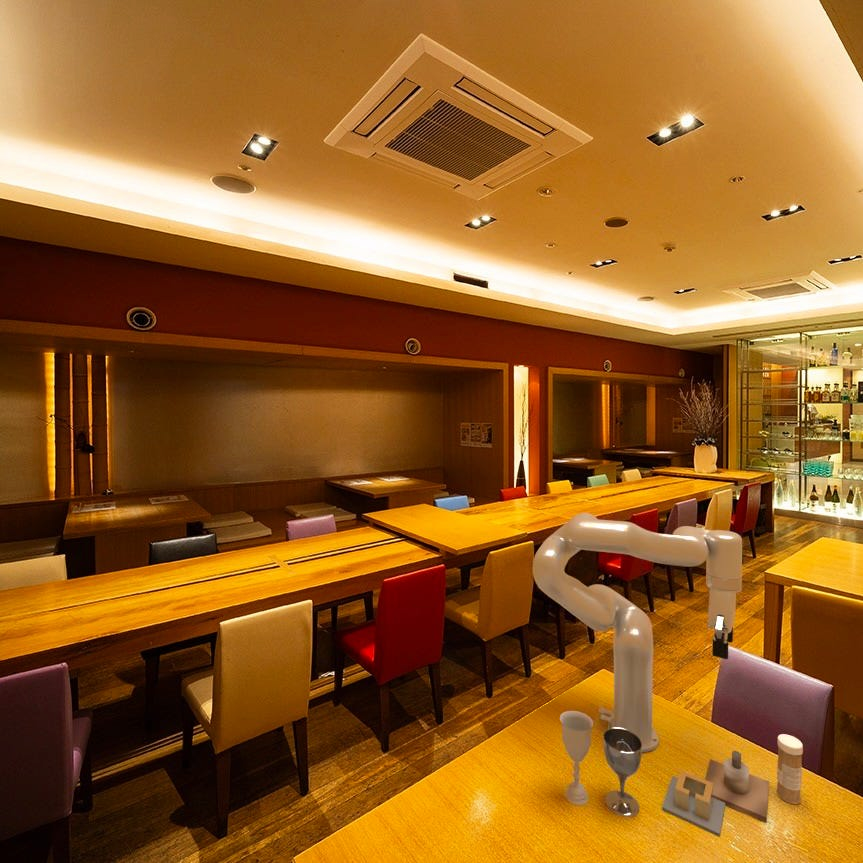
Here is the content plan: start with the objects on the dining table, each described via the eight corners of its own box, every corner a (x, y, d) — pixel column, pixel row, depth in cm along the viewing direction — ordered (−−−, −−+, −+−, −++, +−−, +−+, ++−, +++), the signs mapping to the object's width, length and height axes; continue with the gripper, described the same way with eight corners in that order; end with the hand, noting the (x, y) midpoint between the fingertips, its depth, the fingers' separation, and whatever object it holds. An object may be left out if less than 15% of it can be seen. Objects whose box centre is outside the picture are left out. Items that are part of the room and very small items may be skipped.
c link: (674, 805, 105) (675, 788, 105) (680, 786, 110) (680, 769, 110) (709, 821, 101) (709, 803, 101) (713, 800, 106) (713, 783, 106)
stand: (702, 795, 108) (702, 757, 108) (709, 763, 118) (710, 728, 117) (766, 822, 101) (767, 782, 100) (769, 786, 110) (769, 749, 110)
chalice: (558, 803, 107) (558, 726, 106) (561, 780, 113) (561, 708, 112) (593, 812, 104) (592, 733, 103) (593, 788, 111) (593, 714, 110)
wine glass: (595, 796, 109) (595, 733, 108) (622, 784, 112) (622, 723, 111) (622, 824, 101) (622, 757, 101) (649, 810, 105) (650, 745, 104)
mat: (662, 809, 105) (662, 807, 105) (672, 778, 113) (672, 775, 113) (719, 836, 98) (719, 833, 98) (726, 800, 107) (726, 798, 107)
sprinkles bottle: (777, 785, 111) (779, 730, 110) (802, 796, 108) (804, 739, 107) (774, 797, 107) (776, 740, 107) (800, 809, 104) (801, 750, 103)
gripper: (711, 568, 126) (710, 631, 127) (700, 589, 113) (699, 659, 114) (745, 574, 122) (744, 639, 123) (737, 596, 108) (736, 669, 109)
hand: (722, 648), depth 118 cm, fingers open, 9 cm apart
